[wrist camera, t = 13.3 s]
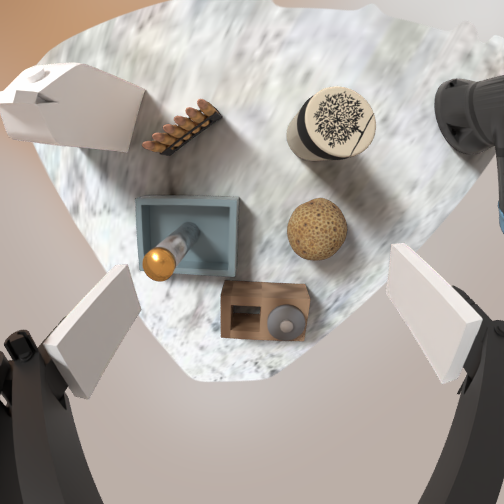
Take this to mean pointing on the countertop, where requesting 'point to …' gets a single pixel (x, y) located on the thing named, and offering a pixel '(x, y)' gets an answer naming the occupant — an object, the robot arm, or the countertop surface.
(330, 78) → the countertop surface
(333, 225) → the natural sponge
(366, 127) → the travel mug
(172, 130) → the ammunition clip
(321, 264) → the countertop surface
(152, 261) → the pin
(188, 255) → the tray
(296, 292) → the block
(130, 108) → the milk
